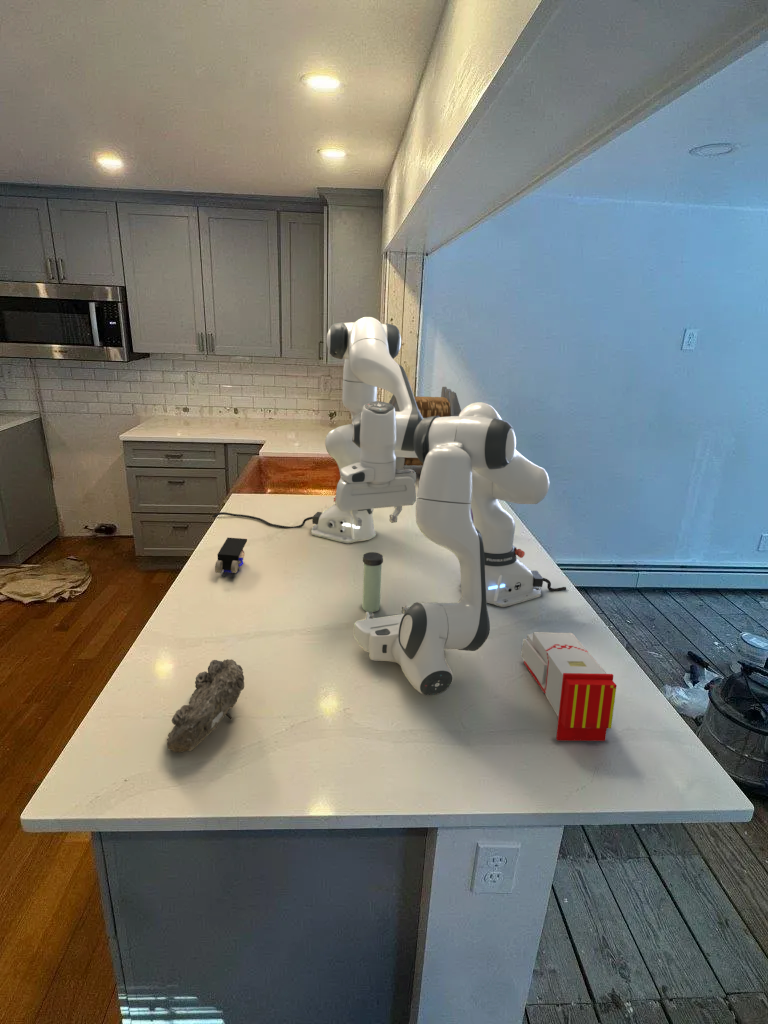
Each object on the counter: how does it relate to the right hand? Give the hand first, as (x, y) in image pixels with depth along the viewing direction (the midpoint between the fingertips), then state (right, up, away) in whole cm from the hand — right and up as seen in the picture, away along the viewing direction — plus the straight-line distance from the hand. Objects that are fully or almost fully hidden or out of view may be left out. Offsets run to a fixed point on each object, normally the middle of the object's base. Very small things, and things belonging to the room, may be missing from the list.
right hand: (386, 611), depth 139 cm
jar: (-4, -1, +12) cm, 12 cm away
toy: (+36, -14, -20) cm, 43 cm away
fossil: (-33, -15, -30) cm, 48 cm away
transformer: (+17, +43, +137) cm, 144 cm away
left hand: (-3, +21, +4) cm, 22 cm away
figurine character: (-45, +7, +29) cm, 54 cm away
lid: (-3, +13, +7) cm, 15 cm away
